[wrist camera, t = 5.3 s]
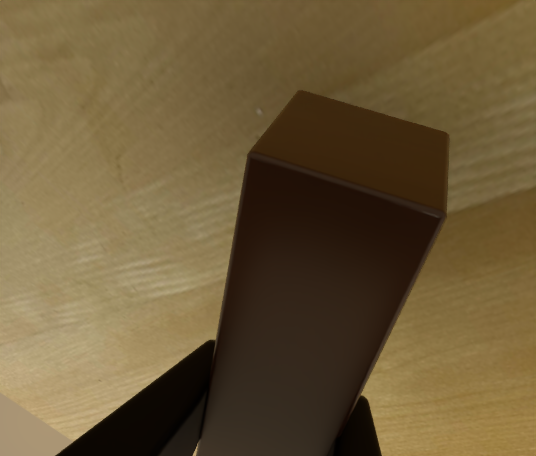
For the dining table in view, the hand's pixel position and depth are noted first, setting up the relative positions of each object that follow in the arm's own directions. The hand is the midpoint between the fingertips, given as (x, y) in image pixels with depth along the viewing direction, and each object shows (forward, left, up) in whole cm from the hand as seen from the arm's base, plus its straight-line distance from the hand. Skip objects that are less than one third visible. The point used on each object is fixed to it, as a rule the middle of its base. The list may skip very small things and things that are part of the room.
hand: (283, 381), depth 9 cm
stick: (0, 0, -1) cm, 1 cm away
